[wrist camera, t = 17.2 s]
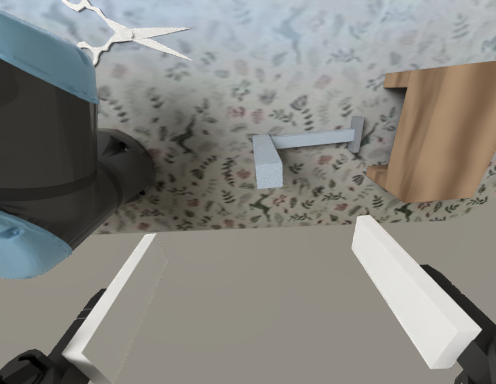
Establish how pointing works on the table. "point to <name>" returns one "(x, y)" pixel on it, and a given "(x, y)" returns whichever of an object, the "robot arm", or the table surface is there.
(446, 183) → the wooden arch block
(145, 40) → the scissors
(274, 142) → the push tool
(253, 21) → the table surface
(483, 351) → the robot arm
